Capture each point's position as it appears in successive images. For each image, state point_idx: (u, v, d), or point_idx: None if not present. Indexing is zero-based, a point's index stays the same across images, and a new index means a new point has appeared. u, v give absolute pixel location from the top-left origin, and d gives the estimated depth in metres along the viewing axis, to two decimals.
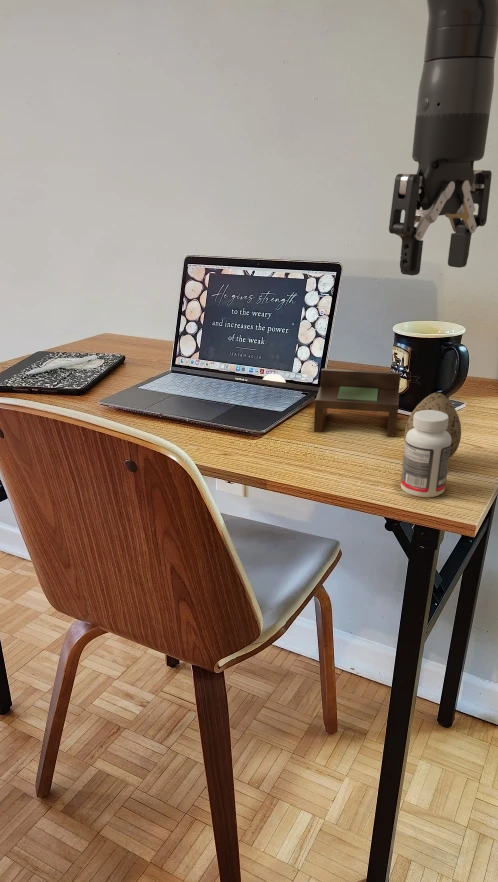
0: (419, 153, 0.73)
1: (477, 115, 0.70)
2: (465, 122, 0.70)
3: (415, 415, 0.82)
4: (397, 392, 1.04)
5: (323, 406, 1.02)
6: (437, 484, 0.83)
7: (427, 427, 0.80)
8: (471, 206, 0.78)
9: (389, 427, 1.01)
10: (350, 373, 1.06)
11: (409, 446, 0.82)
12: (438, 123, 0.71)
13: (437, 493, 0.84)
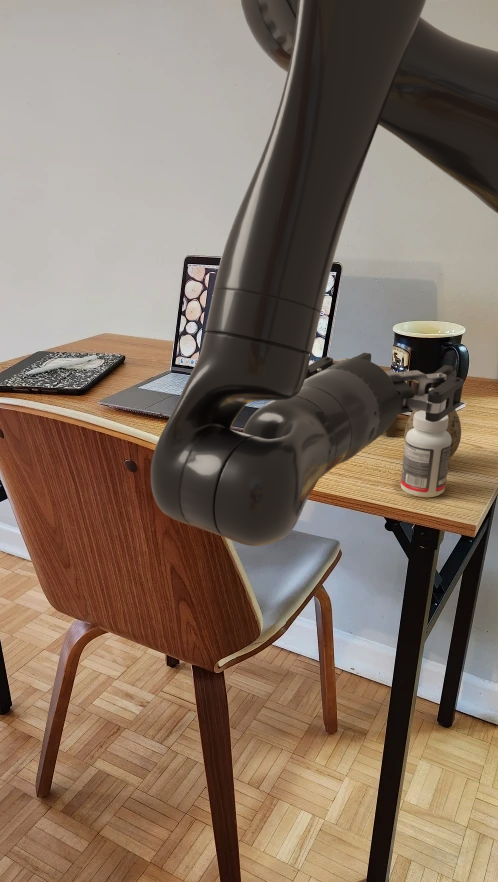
0: (393, 418, 0.59)
1: (350, 371, 0.56)
2: (366, 377, 0.56)
3: (415, 415, 0.82)
4: None
5: None
6: (437, 484, 0.83)
7: (427, 427, 0.80)
8: None
9: (389, 427, 1.01)
10: None
11: (409, 446, 0.82)
12: (382, 405, 0.56)
13: (437, 493, 0.84)
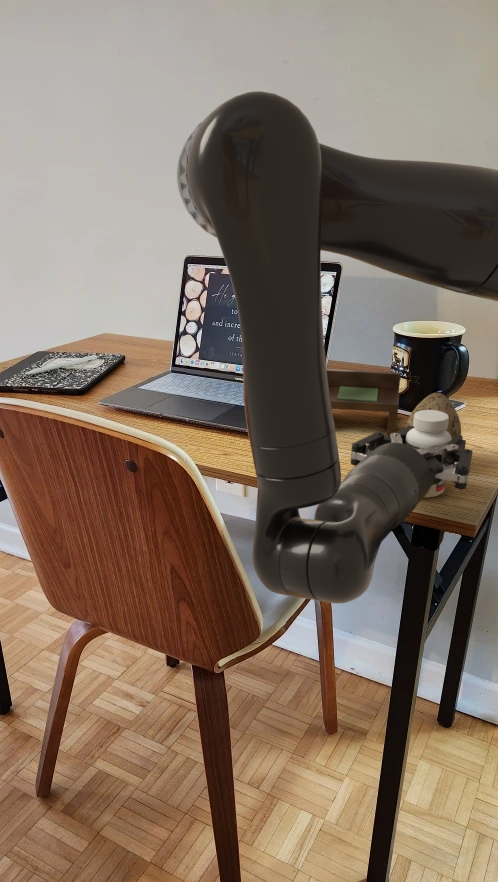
0: (428, 490, 0.74)
1: (395, 457, 0.71)
2: (407, 461, 0.71)
3: (415, 415, 0.82)
4: (397, 392, 1.04)
5: None
6: (437, 484, 0.83)
7: (428, 427, 0.80)
8: (395, 439, 0.80)
9: (389, 427, 1.01)
10: (350, 373, 1.06)
11: None
12: (420, 483, 0.71)
13: (437, 493, 0.84)
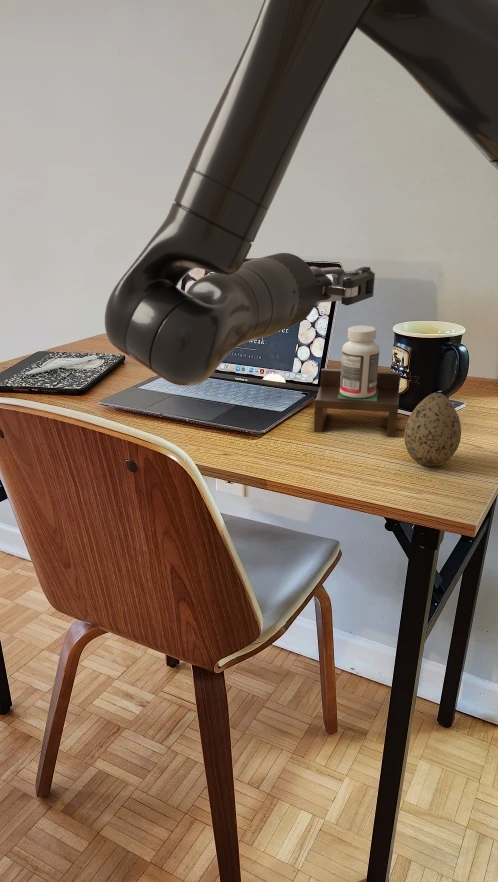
0: (314, 301, 0.71)
1: (274, 258, 0.68)
2: (287, 263, 0.68)
3: (349, 328, 0.99)
4: (397, 392, 1.04)
5: (323, 406, 1.02)
6: (368, 386, 1.00)
7: (358, 337, 0.98)
8: None
9: (389, 427, 1.01)
10: None
11: (344, 354, 1.00)
12: (301, 286, 0.68)
13: (368, 395, 1.01)
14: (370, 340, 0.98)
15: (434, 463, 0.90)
